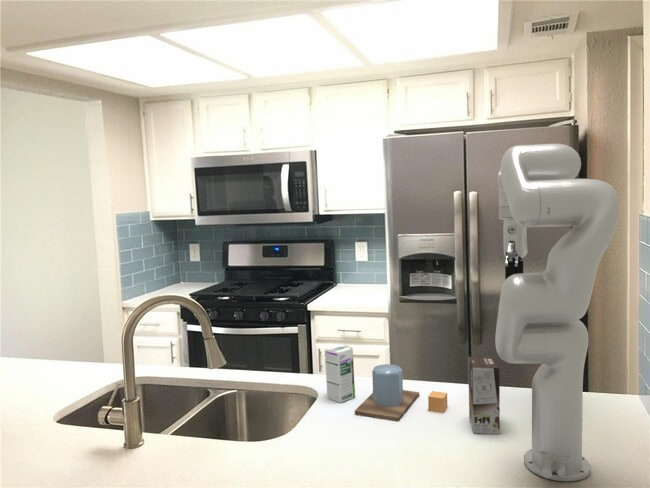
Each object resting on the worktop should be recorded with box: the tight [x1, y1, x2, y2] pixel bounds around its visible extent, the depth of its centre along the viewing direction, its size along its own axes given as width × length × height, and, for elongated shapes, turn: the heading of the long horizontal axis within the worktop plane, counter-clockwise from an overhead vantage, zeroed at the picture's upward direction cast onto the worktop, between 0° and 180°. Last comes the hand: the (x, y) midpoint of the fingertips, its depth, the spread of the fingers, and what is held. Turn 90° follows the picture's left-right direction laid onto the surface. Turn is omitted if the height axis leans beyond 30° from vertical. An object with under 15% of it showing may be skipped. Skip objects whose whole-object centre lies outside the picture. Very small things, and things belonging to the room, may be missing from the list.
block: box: [427, 390, 448, 414], centre depth 144 cm, size 4×4×4 cm
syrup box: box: [324, 344, 356, 404], centre depth 153 cm, size 6×6×14 cm
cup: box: [371, 363, 404, 407], centre depth 147 cm, size 7×7×9 cm
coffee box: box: [467, 355, 501, 435], centre depth 132 cm, size 9×6×16 cm
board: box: [354, 389, 420, 422], centre depth 148 cm, size 18×12×1 cm, turn 154°
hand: (514, 278), depth 143 cm, fingers open, 9 cm apart
